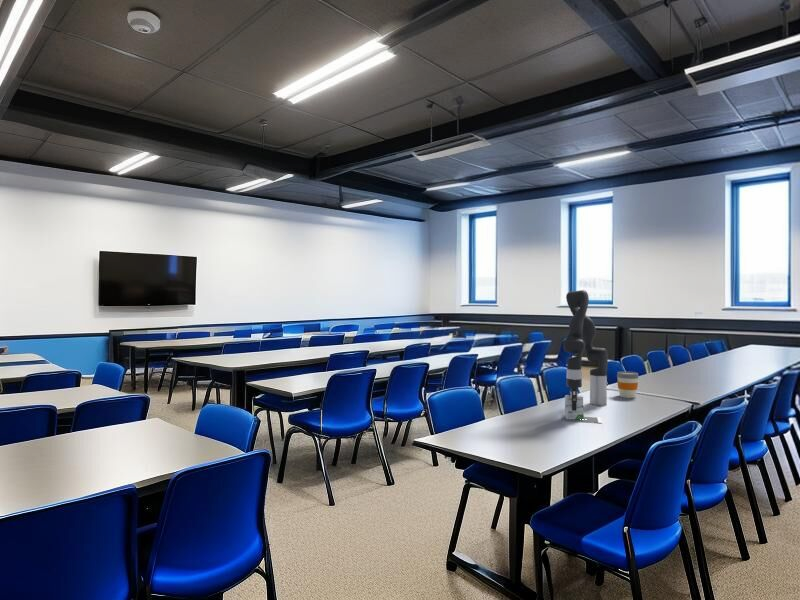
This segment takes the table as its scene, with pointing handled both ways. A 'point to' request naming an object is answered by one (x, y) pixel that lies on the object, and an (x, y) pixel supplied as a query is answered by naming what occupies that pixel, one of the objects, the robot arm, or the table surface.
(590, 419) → the mat
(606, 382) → the robot arm
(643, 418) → the table surface
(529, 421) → the table surface
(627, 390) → the reusable coffee cup
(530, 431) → the table surface
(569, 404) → the ink box
